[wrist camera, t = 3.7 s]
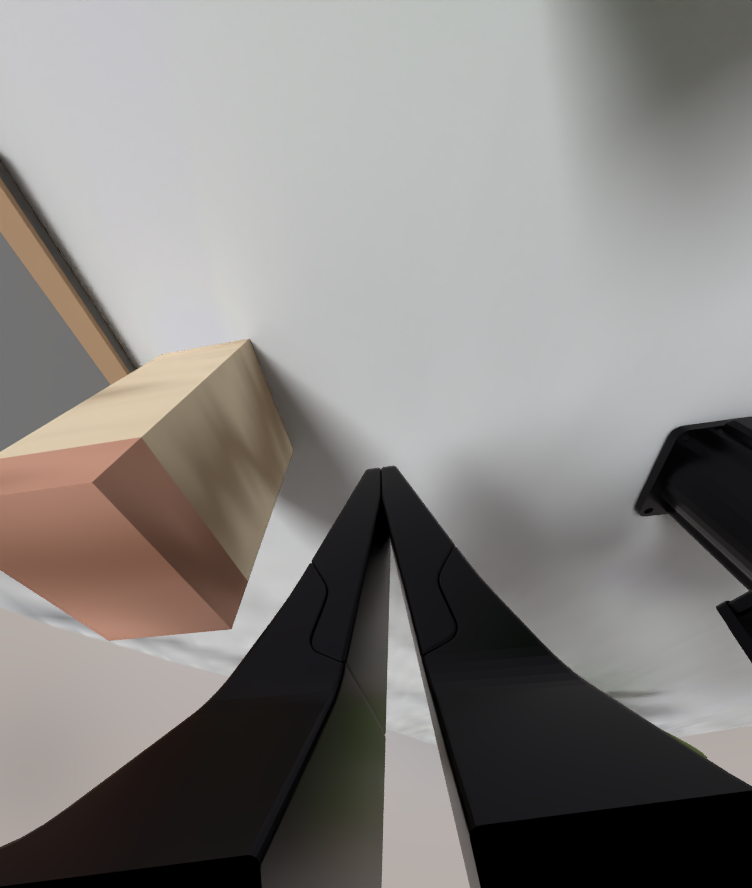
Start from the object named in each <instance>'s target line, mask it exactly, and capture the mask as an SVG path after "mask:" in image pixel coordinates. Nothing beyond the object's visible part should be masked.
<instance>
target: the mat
mask: <svg viewBox="0 0 752 888" xmlns="http://www.w3.org/2000/svg"><path fill="white" fill-rule="evenodd" d="M135 370H136V369H135V367H134V366H133V364H132V363H131V361H130V360H129V358H128V357H127V355H126V353H125V352H124V350H123V349H122V347H121V346H120V344H119V343H118V341H117V340H116V338H115V337H114V335H113V333H112V332H111V330H110V329H109V327H108V326H107V324H106V323H105V321H104V320H103V318H102V316H101V315H100V313H99V312H98V310H97V309H96V307H95V306H94V304H93V303H92V301H91V300H90V298H89V296H88V295H87V293H86V292H85V290H84V289H83V287H82V286H81V284H80V283H79V281H78V279H77V278H76V276H75V275H74V273H73V272H72V270H71V269H70V267H69V266H68V264H67V263H66V261H65V259H64V258H63V256H62V255H61V253H60V252H59V250H58V249H57V247H56V246H55V244H54V243H53V241H52V239H51V238H50V236H49V235H48V233H47V232H46V230H45V229H44V227H43V226H42V224H41V222H40V221H39V219H38V218H37V216H36V215H35V213H34V212H33V210H32V209H31V207H30V206H29V204H28V202H27V201H26V199H25V198H24V196H23V195H22V193H21V192H20V190H19V189H18V187H17V185H16V184H15V182H14V181H13V179H12V178H11V176H10V175H9V173H8V172H7V170H6V169H5V167H4V165H3V164H2V162H1V161H0V452H1V451H2V450H4V449H6V448H7V447H9V446H11V445H12V444H14V443H16V442H17V441H19V440H21V439H22V438H24V437H26V436H27V435H29V434H31V433H32V432H34V431H36V430H37V429H39V428H41V427H42V426H44V425H46V424H47V423H49V422H50V421H52V420H54V419H55V418H57V417H59V416H60V415H62V414H64V413H65V412H67V411H69V410H70V409H72V408H74V407H75V406H77V405H79V404H80V403H82V402H84V401H85V400H87V399H89V398H90V397H92V396H94V395H95V394H97V393H98V392H100V391H102V390H103V389H105V388H107V387H108V386H110V385H112V384H113V383H115V382H117V381H118V380H120V379H122V378H123V377H125V376H127V375H128V374H130V373H132V372H133V371H135Z"/></svg>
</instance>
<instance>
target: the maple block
mask: <svg viewBox="0 0 752 888" xmlns="http://www.w3.org/2000/svg"><path fill="white" fill-rule="evenodd" d="M292 453H293V448H292V445H291V443H290V440H289V438H288V435H287V433H286V430H285V427H284V425H283V422H282V420H281V417H280V415H279V412H278V410H277V407H276V405H275V402H274V400H273V397H272V395H271V392H270V390H269V387H268V385H267V382H266V380H265V377H264V375H263V372H262V370H261V367H260V365H259V362H258V360H257V357H256V355H255V352H254V350H253V347H252V345H251V342H250V340H249V339H245V340H240V341H234V342H228V343H222V344H217V345H211V346H205V347H200V348H194V349H188V350H183V351H177V352H171V353H165V354H161V355H160V356H158V357H156V358H155V359H153V360H151V361H150V362H148V363H146V364H145V365H143V366H142V367H140V368H138V369H137V370H135V371H133V372H132V373H130V374H128V375H127V376H125V377H123V378H122V379H120V380H118V381H117V382H115V383H113V384H112V385H110V386H108V387H107V388H105V389H103V390H102V391H100V392H98V393H97V394H95V395H94V396H92V397H90V398H89V399H87V400H85V401H84V402H82V403H80V404H79V405H77V406H75V407H74V408H72V409H70V410H69V411H67V412H65V413H64V414H62V415H60V416H59V417H57V418H55V419H54V420H52V421H50V422H49V423H47V424H46V425H44V426H42V427H41V428H39V429H37V430H36V431H34V432H32V433H31V434H29V435H27V436H26V437H24V438H22V439H21V440H19V441H17V442H16V443H14V444H12V445H11V446H9V447H7V448H6V449H4V450H2V451H1V452H0V570H1V571H3V572H4V573H6V574H7V575H9V576H10V577H12V578H13V579H15V580H16V581H18V582H20V583H21V584H23V585H24V586H26V587H27V588H29V589H30V590H32V591H33V592H35V593H36V594H38V595H39V596H41V597H43V598H44V599H46V600H47V601H49V602H50V603H52V604H53V605H55V606H56V607H58V608H59V609H61V610H63V611H64V612H66V613H67V614H69V615H70V616H72V617H73V618H75V619H76V620H78V621H79V622H81V623H82V624H84V625H86V626H87V627H89V628H90V629H92V630H93V631H95V632H96V633H98V634H99V635H101V636H102V637H104V638H106V639H107V640H109V641H111V640H122V639H132V638H143V637H153V636H164V635H174V634H185V633H195V632H206V631H216V630H227V629H232V626H233V623H234V620H235V618H236V615H237V612H238V609H239V606H240V603H241V600H242V597H243V594H244V592H245V589H246V586H247V583H248V580H249V577H250V574H251V571H252V568H253V566H254V563H255V560H256V557H257V554H258V551H259V548H260V545H261V542H262V540H263V537H264V534H265V531H266V528H267V525H268V522H269V519H270V516H271V514H272V511H273V508H274V505H275V502H276V499H277V496H278V493H279V490H280V488H281V485H282V482H283V479H284V476H285V473H286V470H287V467H288V464H289V462H290V459H291V456H292Z"/></svg>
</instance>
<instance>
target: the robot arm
mask: <svg viewBox="0 0 752 888" xmlns="http://www.w3.org/2000/svg"><path fill="white" fill-rule="evenodd" d="M635 510H636V511H637V512H638V513H639V514H640V515H641V516H652V515H661V514H669V515H671V516H672V517H673V518H674V519H675V520H676V521H677V522H678V523H679V524H680V525H681V526H682V527H683V528H684V529H685V530H686V531H687V532H688V533H689V534H690V535H691V536H692V537H694V538H695V539H696V540H697V541H698V542H699V543H700V544H701V545H702V546H703V547H704V548H705V549H706V550H707V551H708V552H709V553H710V554H711V555H712V556H713V557H714V558H715V559H717V560H718V561H719V562H720V563H721V564H722V565H723V566H724V567H725V568H726V569H727V570H728V571H729V572H730V573H731V574H732V575H733V576H734V577H735V578H736V579H737V580H738V581H740V582H741V583H742V584H743V585H744V586H745V587H746V588H747V589H748V590H749V591H748V592H747V593H745V594H743V595H741V596H739V597H737V598H736V599H734V600H732V601H725V602H723V603H721V604H719V605H718V606H716V608H717V610H718V612H719V613H720V615H721V616H722V618H723V619H724V621H725V622H726V624H727V626H728V627H729V629H730V631H731V632H732V634H733V635H734V637H735V638H736V640H737V641H738V643H739V644H740V646H741V647H742V649H743V650H744V652H745V653H746V655H747V656H748V658H749V659H750V661H751V663H752V417H745V418H738V419H730V420H723V421H715V422H708V423H700V424H693V425H686V426H681V427H679V428H677V429H675V430H674V431H673V432H672V433H671V434H670V436H669V438H668V440H667V442H666V444H665V446H664V448H663V450H662V452H661V455H660V457H659V459H658V461H657V463H656V465H655V467H654V469H653V471H652V473H651V475H650V477H649V480H648V482H647V484H646V486H645V488H644V490H643V492H642V494H641V496H640V498H639V500H638V502H637V505H636V507H635ZM390 540H391V545H392V550H393V554H394V559H395V563H396V567H397V572H398V576H399V580H400V585H401V589H402V593H403V598H404V602H405V606H406V611H407V615H408V619H409V624H410V628H411V632H412V637H413V641H414V645H415V650H416V654H417V658H418V663H419V667H420V671H421V676H422V680H423V685H424V689H425V693H426V698H427V702H428V706H429V711H430V715H431V719H432V724H433V728H434V732H435V737H436V741H437V745H438V750H439V754H440V758H441V763H442V767H443V771H444V776H445V780H446V784H447V788H448V792H449V797H450V802H451V806H452V810H453V814H454V819H455V823H456V828H457V832H458V836H459V841H460V845H461V850H462V854H463V858H464V862H465V867H466V871H467V875H468V880H469V884H470V888H752V786H750V785H749V784H747V783H745V782H744V781H742V780H740V779H738V778H737V777H735V776H733V775H732V774H730V773H728V772H727V771H725V770H723V769H722V768H720V767H719V766H717V765H716V764H714V763H713V762H711V761H709V760H708V759H706V758H705V757H703V756H702V755H700V754H699V753H697V752H695V751H694V750H692V749H691V748H689V747H688V746H686V745H685V744H683V743H681V742H680V741H678V740H677V739H675V738H674V737H672V736H671V735H669V734H667V733H666V732H664V731H663V730H661V729H660V728H658V727H657V726H655V725H653V724H652V723H650V722H649V721H647V720H646V719H644V718H643V717H641V716H639V715H638V714H636V713H635V712H633V711H632V710H630V709H629V708H627V707H625V706H624V705H622V704H621V703H619V702H618V701H616V700H614V699H613V698H611V697H610V696H608V695H607V694H605V693H604V692H602V691H600V690H599V689H597V688H596V687H594V686H593V685H591V684H590V683H588V682H587V681H585V680H584V679H583V678H581V677H580V676H578V675H577V674H576V673H574V672H573V671H572V670H571V669H570V668H568V667H567V666H566V665H565V664H564V663H563V662H562V661H561V660H559V659H558V658H557V657H556V656H555V655H554V654H553V653H552V652H551V651H550V650H549V649H548V648H547V647H546V646H545V645H544V644H543V643H542V642H541V641H540V640H539V639H538V638H537V637H536V636H535V634H534V633H533V632H532V631H531V630H530V629H529V628H528V627H527V626H526V625H525V624H524V623H523V622H522V621H521V620H520V619H519V618H518V617H517V616H516V615H515V614H514V613H513V612H512V610H511V609H510V608H509V607H508V606H507V605H506V604H505V603H504V602H503V601H502V600H501V599H500V598H499V597H498V596H497V595H496V594H495V593H494V592H493V590H492V589H491V588H490V587H489V586H488V585H487V584H486V583H485V582H484V581H483V579H482V578H481V577H480V576H479V575H478V574H477V572H476V571H475V570H474V569H473V567H472V566H471V565H470V564H469V562H468V561H467V560H466V559H465V557H464V556H463V555H462V553H461V552H460V551H459V549H458V548H457V547H455V544H454V543H453V542H452V540H451V539H450V538H449V536H448V535H447V534H446V532H445V531H444V530H443V528H442V527H441V526H440V524H439V523H438V522H437V520H436V519H435V518H434V516H433V515H432V514H431V512H430V511H429V510H428V508H427V507H426V506H425V504H424V503H423V502H422V500H421V499H420V498H419V496H418V495H417V494H416V492H415V491H414V490H413V488H412V487H411V486H410V485H409V483H408V482H407V481H406V479H405V478H404V477H403V475H402V474H401V473H400V471H399V470H398V469H397V467H396V466H388V467H383V468H382V469H380V468H373V469H367V470H366V471H365V473H364V475H363V476H362V478H361V480H360V481H359V483H358V485H357V486H356V488H355V490H354V491H353V493H352V495H351V496H350V498H349V500H348V501H347V503H346V505H345V506H344V508H343V509H342V511H341V513H340V514H339V516H338V518H337V519H336V521H335V523H334V524H333V526H332V528H331V529H330V531H329V533H328V534H327V536H326V538H325V539H324V541H323V543H322V544H321V546H320V548H319V549H318V551H317V553H316V554H315V556H314V558H313V559H312V563H310V564H309V566H308V567H307V569H306V571H305V572H304V574H303V576H302V577H301V579H300V580H299V582H298V584H297V585H296V587H295V588H294V590H293V591H292V593H291V594H290V596H289V597H288V599H287V600H286V602H285V603H284V604H283V606H282V607H281V609H280V610H279V611H278V613H277V614H276V616H275V617H274V618H273V620H272V621H271V622H270V624H269V625H268V626H267V628H266V629H265V630H264V632H263V633H262V634H261V636H260V637H259V638H258V640H257V641H256V643H255V644H254V645H253V647H252V648H251V649H250V651H249V652H248V653H247V655H246V656H245V657H244V659H243V660H242V661H241V663H240V664H239V665H238V667H237V668H236V669H235V671H234V672H233V673H232V675H231V676H230V677H229V678H228V680H227V681H226V682H225V683H224V684H223V686H222V687H221V688H220V689H219V690H218V691H217V692H216V693H215V694H214V695H213V696H212V697H211V698H210V700H208V701H207V702H206V703H205V704H204V705H203V706H202V707H201V708H200V709H199V710H197V711H196V712H195V713H194V714H192V715H191V716H190V717H188V718H187V719H186V720H184V721H183V722H182V723H180V724H179V725H178V726H176V727H175V728H174V729H172V730H171V731H170V732H168V733H167V734H166V735H165V736H163V737H162V738H161V739H159V740H158V741H156V742H155V743H154V744H152V745H151V746H150V747H148V748H147V749H146V750H144V751H143V752H142V753H140V754H139V755H138V756H136V757H135V758H134V759H132V760H131V761H130V762H128V763H127V764H126V765H124V766H123V767H122V768H120V769H119V770H118V771H116V772H115V773H114V774H112V775H111V776H110V777H108V778H107V779H105V780H104V781H103V782H102V783H100V784H99V785H98V786H96V787H95V788H93V789H92V790H91V791H89V792H88V793H87V794H86V795H84V796H83V797H81V798H80V799H79V800H77V801H76V802H75V803H73V804H72V805H71V806H69V807H68V808H67V809H65V810H64V811H62V812H61V813H60V814H58V815H57V816H55V817H54V818H52V819H51V820H49V821H48V822H47V823H45V824H44V825H42V826H40V827H39V828H37V829H35V830H34V831H32V832H30V833H29V834H27V835H25V836H23V837H21V838H20V839H17V840H15V841H13V842H11V843H8V844H6V845H4V846H2V847H0V888H381V882H382V845H383V843H382V842H383V809H384V772H385V732H386V697H387V660H388V623H389V586H390Z"/></svg>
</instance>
